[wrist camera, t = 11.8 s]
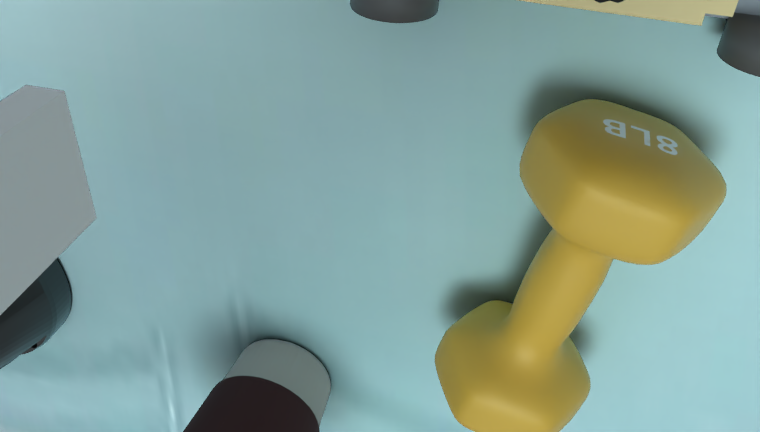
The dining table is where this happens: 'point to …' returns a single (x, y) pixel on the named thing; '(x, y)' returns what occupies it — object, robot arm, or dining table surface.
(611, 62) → the dining table surface
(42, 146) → the robot arm
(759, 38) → the chassis
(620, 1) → the supplement bottle
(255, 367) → the coffee cup
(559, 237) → the dumbbell
